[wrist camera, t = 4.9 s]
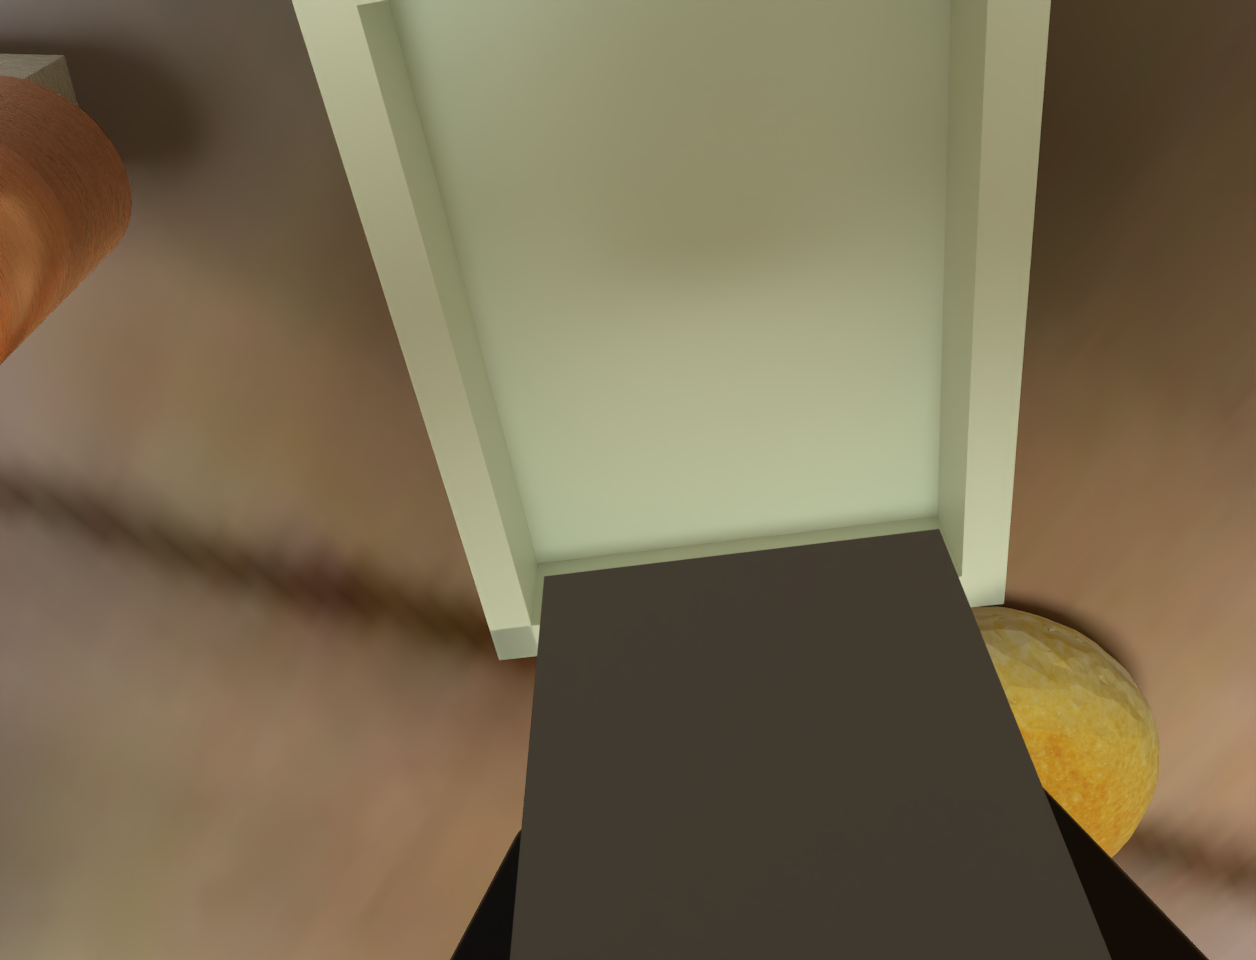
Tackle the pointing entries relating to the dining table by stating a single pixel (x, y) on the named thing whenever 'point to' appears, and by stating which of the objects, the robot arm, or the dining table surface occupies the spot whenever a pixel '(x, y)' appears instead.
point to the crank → (51, 193)
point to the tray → (699, 268)
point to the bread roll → (1076, 721)
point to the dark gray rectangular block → (784, 769)
